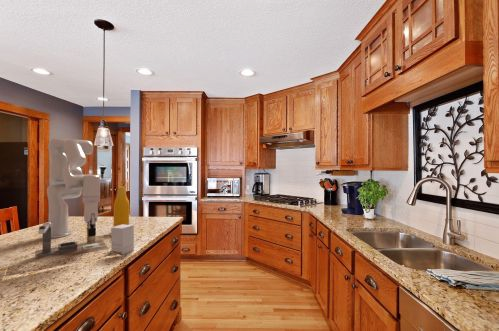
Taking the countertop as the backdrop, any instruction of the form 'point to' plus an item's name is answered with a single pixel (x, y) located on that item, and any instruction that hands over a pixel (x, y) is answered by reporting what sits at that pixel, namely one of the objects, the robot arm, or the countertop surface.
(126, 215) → the beer bottle
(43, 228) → the locking bar
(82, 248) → the eye board
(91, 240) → the oak peg
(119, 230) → the supplement box
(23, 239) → the countertop surface
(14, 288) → the countertop surface
